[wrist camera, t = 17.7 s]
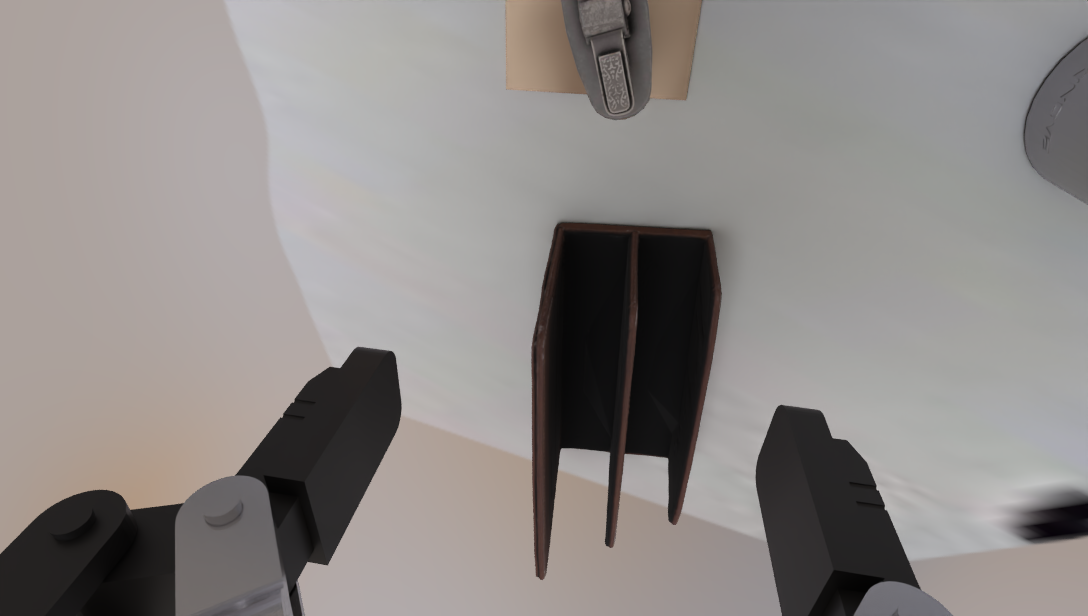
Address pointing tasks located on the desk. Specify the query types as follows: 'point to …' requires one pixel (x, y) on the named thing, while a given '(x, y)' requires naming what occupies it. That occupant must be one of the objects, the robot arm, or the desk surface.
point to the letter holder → (621, 356)
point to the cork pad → (548, 60)
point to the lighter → (611, 53)
